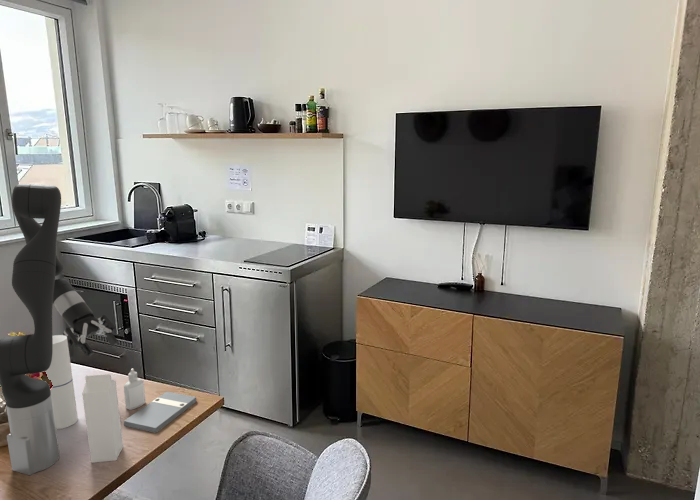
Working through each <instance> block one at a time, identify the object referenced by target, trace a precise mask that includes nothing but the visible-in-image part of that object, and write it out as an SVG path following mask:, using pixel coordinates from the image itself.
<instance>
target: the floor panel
mask: <svg viewBox="0 0 700 500" xmlns="http://www.w3.org/2000/svg"><path fill="white" fill-rule="evenodd" d="M196 402H197V396H193V395H187V394H182V393H177V392H171V391H165V392H164V393H162V394H161V395H159V396H158V397H156V398H155V399H153V400H152V401H150V402H149V403H147V404H146V405H144V407H142V408H140V409H139V410H138V411H136V412H134V413H133V414H132V415H131V416H129V417H127V418H126V419H125V420H123V425H124V427H129V428H133V429H137V430H141V431H145V432H146V431H147V432H151V433H158V432H159V431H160V430H162V429H163V428H164V427H166V426H167V425H168V424H170V423H171V422H172V421H174V420H175V419H177V417H178V416H180V415H181V414H182V413H184V412H185V411H186V410H188V408H191V407H192V406H193V405H194V404H196Z"/></svg>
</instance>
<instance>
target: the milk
mask: <svg viewBox="0 0 700 500" xmlns="http://www.w3.org/2000/svg"><path fill="white" fill-rule="evenodd" d="M84 378H85V384H84V387H83V389H82V393H81V394H82V403H83V410H84V417H85V426H86V433H87V439H88V440H87V442H88V448H89V450H88V451H89V457H90V463H91V464H94V463H102V462H103V463H104V462H114V461H117V459H118V458H119V457H120V456H119V455H120V454H121V452H122V450H123V448H124V444H123V443H124V441H123V434H122V432H123V431H122V423H121V416H120V407H119V397H118V389H117V380H115V379H112V374H110V373H105V374H93V375H86V376H85V377H84Z"/></svg>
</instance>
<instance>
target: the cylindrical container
mask: <svg viewBox="0 0 700 500" xmlns="http://www.w3.org/2000/svg"><path fill="white" fill-rule="evenodd" d="M52 338H53V352H52V361H51V365H50V367H49V369H48V370H46V371H45V372H46V374H47V377H48V379H49V380H51V382H52V385H53V386H52V387H53V388H52V389H51V390H50V391H51V398H52V406H53V413H54V420H55V427H56V430H63V429H65V428H68V427H70V426H73V425H74V424H76V423H77V422H78V420H79V416H78V409H77V403H76V402H77V401H76V394H75V393H76V392H75V388H74V381H73V380H74V379H73V371H72V365H71V358H70V351H69V350H70V349H69V343H68V341H67V336H65V335H63V334H56V335H55V334H54V335H52Z"/></svg>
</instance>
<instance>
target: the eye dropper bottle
mask: <svg viewBox="0 0 700 500" xmlns="http://www.w3.org/2000/svg"><path fill="white" fill-rule="evenodd" d="M127 375H128V376H127V377H128V381H126V383H125V384H124V385H123V393H124V402H125V403H124V404H125V409H128V410H135V409H137V408H140V407H141V406H143V405H144V404H146V393H145V383H144V380H143V379H142V378H140V377H138V372H137V371H135V369H134V368H131V369H130V371H129V373H128V374H127Z"/></svg>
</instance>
